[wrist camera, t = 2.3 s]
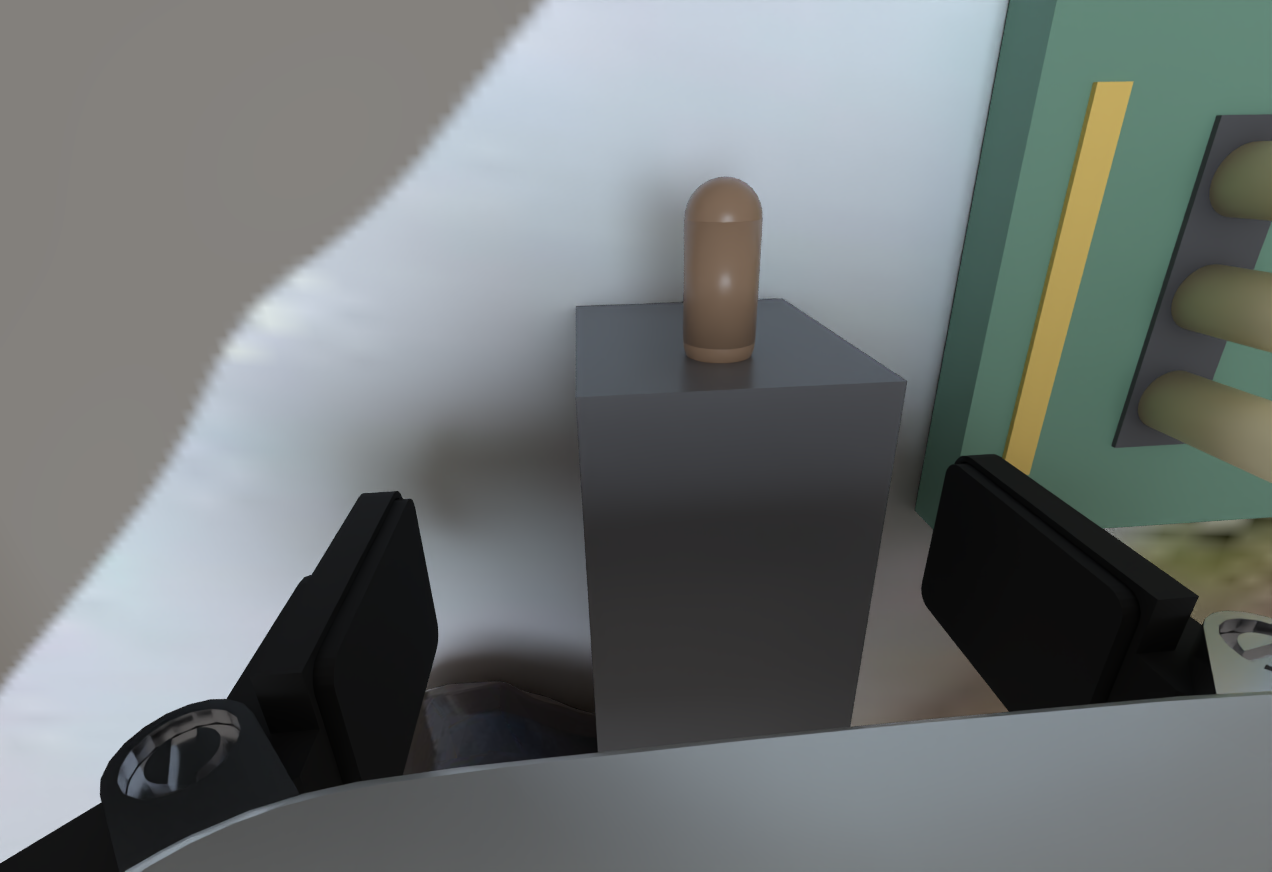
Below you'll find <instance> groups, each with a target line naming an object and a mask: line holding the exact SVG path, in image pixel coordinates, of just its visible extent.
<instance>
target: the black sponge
mask: <svg viewBox="0 0 1272 872" xmlns="http://www.w3.org/2000/svg"><path fill="white" fill-rule="evenodd" d="M589 753H598V745H597V729H596V714H593V713H590V712H586V711H582V710H579V709H575V708H572V707H569V706H567V705H565V704H563V703H560V702H558V701H555V700H553V699H550V698H547V697H544V696H542V695H538V694H533V693H528V692H525V691H523V690H520V689H518V688H516V687H514V686H512V685H510V684H508V683H505V682H479V683H462V684H448V685H445V686H442V687H437V688H433V689H429V690H426V691H425V694H424V698H423V702H422V705H421V709H420V713H419V717H418V720H417V724H416V728H415V732H414V735H413V739H412V743H411V747H410V750H409V754H408V758H407V762H406V765H405V769H404V773H403V775H409V774H416V773H423V772H430V771H437V770H444V769H451V768H458V767H467V766H476V765H486V764H495V763H504V762H513V761H523V760H532V759H541V758H551V757H561V756H570V755H580V754H589Z"/></svg>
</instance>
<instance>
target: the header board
mask: <svg viewBox="0 0 1272 872" xmlns="http://www.w3.org/2000/svg"><path fill="white" fill-rule="evenodd" d="M983 454H996V455H998V456H1000V457H1002V458H1003V459H1004V460H1006V461H1007V462H1009V463H1010V464H1012V465H1013V466H1014V467H1016V468H1017V469H1019V470H1020V471H1021V472H1023V473H1024V474H1026V475H1027V476H1029V477H1030V478H1031V479H1033V480H1034V481H1036V482H1037V483H1039V484H1040V485H1041V486H1043V487H1044V488H1046V489H1047V490H1048V491H1050V492H1051V493H1053V494H1054V495H1056V496H1057V497H1058V498H1060V499H1061V500H1063V501H1064V502H1066V503H1067V504H1068V505H1070V506H1071V507H1073V508H1074V509H1075V510H1077V511H1078V512H1080V513H1081V514H1083V515H1084V516H1085V517H1087V518H1088V519H1090V520H1091V521H1093V522H1094V523H1095V524H1097V525H1098V526H1100V527H1101V528H1117V527H1132V526H1147V525H1162V524H1177V523H1192V522H1206V521H1221V520H1236V519H1251V518H1266V517H1272V0H1010V3H1009V8H1008V13H1007V19H1006V24H1005V30H1004V35H1003V40H1002V46H1001V51H1000V56H999V62H998V67H997V72H996V78H995V83H994V89H993V94H992V99H991V105H990V110H989V115H988V121H987V126H986V131H985V137H984V142H983V147H982V153H981V158H980V164H979V169H978V174H977V180H976V185H975V190H974V196H973V201H972V206H971V212H970V217H969V223H968V228H967V233H966V239H965V244H964V249H963V255H962V260H961V265H960V271H959V276H958V281H957V287H956V292H955V298H954V303H953V308H952V314H951V319H950V324H949V330H948V335H947V340H946V346H945V351H944V357H943V362H942V367H941V373H940V378H939V383H938V389H937V394H936V399H935V405H934V410H933V415H932V421H931V426H930V432H929V437H928V442H927V448H926V453H925V458H924V464H923V469H922V474H921V480H920V485H919V491H918V496H917V501H916V507H915V511H916V512H917V513H918V514H919V515H920V516H921V517H922V518H923V520H924V521H925V522H926V523H927V524H928V525H929V526H930V527H931V528H932V529H933V530H934V525H935V520H936V515H937V511H938V506H939V501H940V497H941V492H942V487H943V483H944V478H945V473H946V470H947V468H948V467H949V466H950V465H952V464H954V463H955V461H956V460H957V459H958V458H959V457H961V456H967V455H983Z"/></svg>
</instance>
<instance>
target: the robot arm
mask: <svg viewBox="0 0 1272 872" xmlns="http://www.w3.org/2000/svg"><path fill="white" fill-rule="evenodd" d="M921 591H922V597H923V601H924V603H925V605H926V607H927V608H928V609H929V611H930V612H931V613H932V614H933V616H934V617H935V618H936V620H937V621H938V622H939V623H940V625H941V626H942V627H943V628H944V630H945V631H946V632H947V633H948V635H949V636H950V637H951V639H952V640H953V641H954V642H955V644H956V645H957V646H958V647H959V649H960V650H961V651H962V653H963V654H964V655H965V656H966V658H967V659H968V660H969V661H970V663H971V664H972V665H973V666H974V668H975V669H976V670H977V672H978V673H979V674H980V675H981V677H982V678H983V679H984V680H985V682H986V683H987V684H988V686H989V687H990V688H991V689H992V691H993V692H994V693H995V694H996V696H997V697H998V698H999V699H1000V701H1001V702H1002V703H1003V705H1004V706H1005V707H1006V708H1007V710H1008V711H1009V712H1002V713H991V714H980V715H969V716H958V717H948V718H937V719H926V720H916V721H906V722H896V723H885V724H875V725H865V726H854V727H844V728H834V729H824V730H814V731H804V732H794V733H784V734H774V735H763V736H753V737H743V738H733V739H723V740H714V741H704V742H695V743H685V744H675V745H666V746H656V747H647V748H637V749H628V750H618V751H608V752H599V753H589V754H580V755H570V756H561V757H551V758H541V759H532V760H523V761H513V762H504V763H495V764H486V765H476V766H467V767H458V768H451V769H444V770H437V771H430V772H423V773H416V774H409V775H403V773H404V769H405V765H406V762H407V758H408V754H409V750H410V747H411V743H412V739H413V735H414V732H415V728H416V724H417V720H418V717H419V713H420V709H421V705H422V702H423V698H424V694H425V691H426V687H427V683H428V679H429V676H430V672H431V668H432V664H433V661H434V657H435V653H436V649H437V645H438V624H437V619H436V614H435V608H434V603H433V598H432V593H431V588H430V582H429V577H428V572H427V567H426V562H425V557H424V551H423V546H422V541H421V536H420V531H419V525H418V520H417V515H416V510H415V506H414V503H413V500H411V499H403V498H402V496H401V494H400V493H399V492H398V491H394V492H378V493H363V494H361V495H360V497H359V498H358V500H357V501H356V503H355V505H354V506H353V508H352V510H351V511H350V513H349V515H348V516H347V518H346V519H345V521H344V523H343V524H342V526H341V528H340V529H339V531H338V533H337V534H336V536H335V537H334V539H333V541H332V542H331V544H330V546H329V547H328V549H327V551H326V552H325V554H324V556H323V557H322V559H321V560H320V562H319V564H318V565H317V567H316V569H315V570H314V572H313V574H312V575H309V576H307V577H304V578H303V579H302V581H301V582H300V583H299V584H298V586H297V587H296V589H295V590H294V592H293V594H292V595H291V597H290V598H289V600H288V602H287V603H286V605H285V606H284V608H283V610H282V611H281V613H280V614H279V616H278V618H277V619H276V621H275V622H274V624H273V626H272V627H271V629H270V630H269V632H268V634H267V635H266V637H265V638H264V640H263V641H262V643H261V645H260V646H259V648H258V649H257V651H256V653H255V654H254V656H253V657H252V659H251V661H250V662H249V664H248V665H247V667H246V669H245V670H244V672H243V673H242V675H241V677H240V678H239V680H238V681H237V683H236V685H235V686H234V688H233V689H232V691H231V692H230V694H229V696H228V697H227V699H210V700H206V701H202V702H197V703H193V704H189V705H186V706H184V707H182V708H179V709H177V710H174V711H172V712H170V713H167V714H165V715H164V716H162V717H160V718H159V719H157V720H155V721H154V722H152V723H150V724H149V725H147V726H145V727H144V728H143V729H141V730H140V731H139V732H138V733H136V734H135V735H134V736H133V737H132V738H130V739H129V740H128V741H127V742H125V743H124V744H123V746H122V747H121V748H120V749H119V750H118V752H117V753H116V754H115V755H114V756H113V757H112V759H111V760H110V761H109V763H108V765H107V767H106V769H105V771H104V773H103V775H102V777H101V780H100V798H101V803H100V804H98V805H96V806H95V807H93V808H91V809H90V810H88V811H86V812H85V813H83V814H82V815H80V816H78V817H77V818H75V819H73V820H72V821H70V822H68V823H67V824H65V825H63V826H62V827H60V828H58V829H57V830H55V831H53V832H52V833H50V834H48V835H47V836H45V837H43V838H42V839H40V840H38V841H37V842H35V843H33V844H32V845H30V846H28V847H27V848H25V849H23V850H22V851H20V852H18V853H17V854H15V855H13V856H12V857H10V858H8V859H7V860H5V861H3V862H2V863H0V872H1272V618H1269V617H1266V616H1261V615H1256V614H1252V613H1247V612H1237V611H1222V612H1216V613H1212V614H1211V615H1209V616H1208V617H1207V618H1205V620H1204V622H1203V624H1202V625H1201V624H1200V623H1198V622H1197V621H1195V620H1194V619H1193V618H1191V617H1190V615H1191V613H1192V611H1193V608H1194V606H1195V604H1196V602H1197V599H1198V597H1199V596H1198V595H1196V594H1195V593H1193V592H1192V591H1191V590H1189V589H1188V588H1186V587H1185V586H1183V585H1182V584H1181V583H1179V582H1178V581H1176V580H1175V579H1174V578H1172V577H1171V576H1169V575H1168V574H1166V573H1165V572H1164V571H1162V570H1161V569H1159V568H1158V567H1156V566H1155V565H1154V564H1152V563H1151V562H1149V561H1148V560H1147V559H1145V558H1144V557H1142V556H1141V555H1139V554H1138V553H1137V552H1135V551H1134V550H1132V549H1131V548H1129V547H1128V546H1127V545H1125V544H1124V543H1122V542H1121V541H1120V540H1118V539H1117V538H1115V537H1114V536H1112V535H1111V534H1110V533H1108V532H1107V531H1105V530H1104V529H1102V528H1101V527H1100V526H1098V525H1097V524H1095V523H1094V522H1093V521H1091V520H1090V519H1088V518H1087V517H1085V516H1084V515H1083V514H1081V513H1080V512H1078V511H1077V510H1075V509H1074V508H1073V507H1071V506H1070V505H1068V504H1067V503H1066V502H1064V501H1063V500H1061V499H1060V498H1058V497H1057V496H1056V495H1054V494H1053V493H1051V492H1050V491H1048V490H1047V489H1046V488H1044V487H1043V486H1041V485H1040V484H1039V483H1037V482H1036V481H1034V480H1033V479H1031V478H1030V477H1029V476H1027V475H1026V474H1024V473H1023V472H1021V471H1020V470H1019V469H1017V468H1016V467H1014V466H1013V465H1012V464H1010V463H1009V462H1007V461H1006V460H1004V459H1003V458H1002V457H1000V456H998V455H996V454H983V455H967V456H961V457H959V458H958V459H957V460H956V461H955V463H954V464H952V465H950V466H949V467H948V468H947V470H946V473H945V478H944V483H943V487H942V492H941V497H940V501H939V506H938V511H937V515H936V520H935V525H934V530H933V534H932V539H931V544H930V548H929V553H928V558H927V562H926V567H925V572H924V576H923V581H922V587H921Z"/></svg>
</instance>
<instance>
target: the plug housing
mask: <svg viewBox="0 0 1272 872" xmlns="http://www.w3.org/2000/svg"><path fill="white" fill-rule="evenodd" d="M762 220H763V218H762V207H761V203H760V200H759V198H758V196H757V194H756V193H755V191H754V190H753V189H752V188H751V187H750V186H749V185H748V184H747V183H745V182H743V181H741V180H739V179H736V178H733V177H718V178H714V179H711V180H709V181H707V182H705V183H704V184H702V185H701V186H700V187H699V188H697V189H696V191H695V192H694V193H693V194H692V196H691V197H690V199H689V201H688V203H687V207H686V210H685V218H684V293H683V302H682V303H655V304H629V305H602V306H576V409H577V425H578V441H579V457H580V473H581V489H582V505H583V521H584V537H585V553H586V569H587V585H588V601H589V617H590V633H591V649H592V665H593V681H594V697H595V713H596V729H597V745H598V753H599V752H608V751H618V750H628V749H637V748H647V747H656V746H666V745H675V744H685V743H695V742H704V741H714V740H723V739H733V738H743V737H753V736H763V735H774V734H784V733H794V732H804V731H814V730H824V729H834V728H844V727H850V725H851V719H852V713H853V706H854V700H855V694H856V688H857V682H858V676H859V670H860V664H861V658H862V652H863V646H864V640H865V634H866V628H867V622H868V615H869V609H870V603H871V597H872V591H873V585H874V579H875V573H876V567H877V561H878V555H879V549H880V543H881V537H882V531H883V524H884V518H885V512H886V506H887V500H888V494H889V488H890V482H891V476H892V470H893V464H894V458H895V452H896V446H897V439H898V433H899V427H900V421H901V415H902V409H903V403H904V397H905V391H906V385H907V381H906V380H905V379H903V378H902V377H900V376H899V375H897V374H896V373H894V372H892V371H891V370H889V369H888V368H886V367H885V366H883V365H882V364H880V363H879V362H877V361H876V360H874V359H873V358H871V357H870V356H868V355H867V354H865V353H864V352H862V351H861V350H859V349H858V348H856V347H855V346H853V345H852V344H850V343H849V342H847V341H846V340H844V339H843V338H841V337H840V336H838V335H837V334H835V333H834V332H832V331H831V330H829V329H828V328H826V327H825V326H823V325H822V324H820V323H819V322H817V321H816V320H814V319H813V318H811V317H809V316H808V315H806V314H805V313H803V312H802V311H800V310H799V309H797V308H796V307H794V306H793V305H791V304H790V303H788V302H787V301H785V300H784V299H761V300H758V288H759V271H760V254H761V237H762Z"/></svg>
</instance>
